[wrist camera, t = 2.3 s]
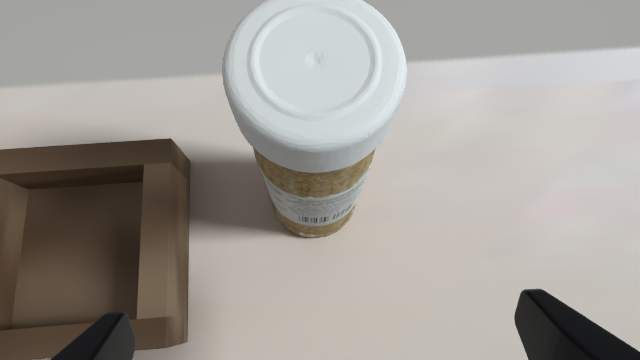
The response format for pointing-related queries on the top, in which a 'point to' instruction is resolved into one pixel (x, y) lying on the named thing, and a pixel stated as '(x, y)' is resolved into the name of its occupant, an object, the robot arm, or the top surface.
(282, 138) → the sprinkles bottle
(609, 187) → the top surface
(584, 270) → the top surface
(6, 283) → the walnut holder
